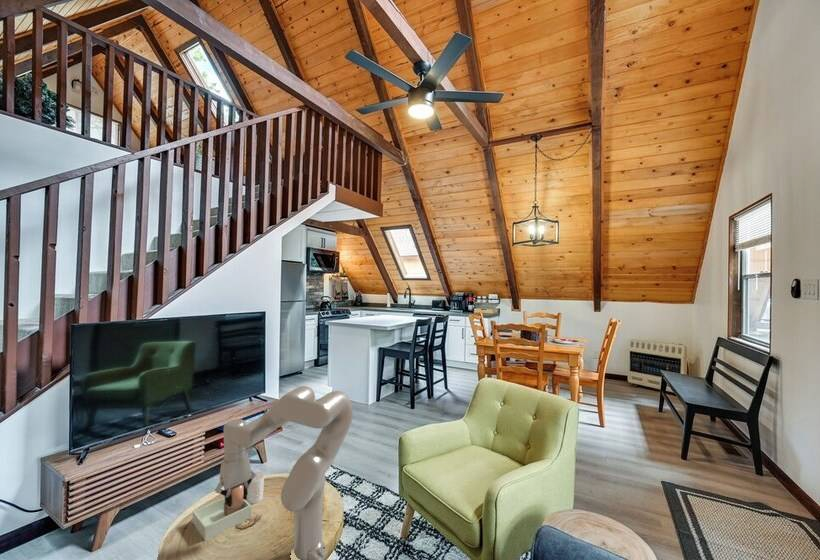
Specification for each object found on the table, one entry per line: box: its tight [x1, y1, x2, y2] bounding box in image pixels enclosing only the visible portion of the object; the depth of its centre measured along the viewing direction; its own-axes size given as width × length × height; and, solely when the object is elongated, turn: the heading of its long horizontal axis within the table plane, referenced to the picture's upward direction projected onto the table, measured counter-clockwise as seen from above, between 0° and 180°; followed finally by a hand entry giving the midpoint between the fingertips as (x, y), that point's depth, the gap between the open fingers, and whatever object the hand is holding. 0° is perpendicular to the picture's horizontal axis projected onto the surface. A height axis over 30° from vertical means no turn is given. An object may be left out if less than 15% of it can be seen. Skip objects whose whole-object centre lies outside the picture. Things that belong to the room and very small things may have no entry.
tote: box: [192, 496, 252, 542], centre depth 145 cm, size 13×17×5 cm
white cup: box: [246, 471, 265, 505], centre depth 159 cm, size 8×8×10 cm
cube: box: [224, 502, 242, 516], centre depth 148 cm, size 5×5×5 cm
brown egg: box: [230, 483, 244, 508], centre depth 137 cm, size 5×5×7 cm
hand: (236, 501), depth 137 cm, fingers closed on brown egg, 5 cm apart
